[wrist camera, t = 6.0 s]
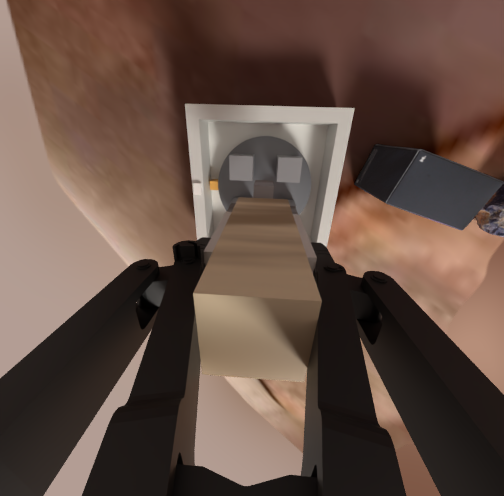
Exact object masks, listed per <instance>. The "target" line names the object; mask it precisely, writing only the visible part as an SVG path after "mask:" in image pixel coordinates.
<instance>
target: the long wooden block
mask: <svg viewBox="0 0 504 496" xmlns="http://www.w3.org/2000/svg"><path fill="white" fill-rule="evenodd" d="M273 191H274V184H273V181H267V180H255V183H254V192H253V198H244V197H239V198H238V200H237V202H236V203H231V204H230V206H229V208H228V210H227V212H231V215H230V217H229V219H228V221H227V223H226V225H225V227H224V229H223V231H222V233H221V236H220V238H219V240H218V242H217V244H216V246H215V248H214V250H213V252H212V254H211V257H210V259H209V261H208V263H207V265H206V267H205V269H204V271H203V273H202V275H201V278H200V280H199V282H198V284H197V286H196V288H195V290H194V292H193V297H194V306H195V315H196V324H197V332H198V341H199V350H200V359H201V367H202V374H205V375H217V376H229V377H242V378H255V379H268V380H281V381H294V382H304V381H305V377H306V372H307V367H308V363H309V358H310V354H311V349H312V344H313V340H314V335H315V331H316V326H317V321H318V317H319V312H320V308H321V303H322V300H321V297H320V294H319V291H318V288H317V285H316V282H315V279H314V276H313V273H312V270H311V267H310V264H309V261H308V258H307V255H306V252H305V249H304V246H303V243H302V240H301V237H300V234H299V231H298V228H297V225H296V222H295V220H294V217H293V215H298V212H297V210H296V207H295V206H290V205H289V202H288V199H273Z"/></svg>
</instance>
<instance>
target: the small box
mask: <svg viewBox="0 0 504 496" xmlns="http://www.w3.org/2000/svg"><path fill="white" fill-rule="evenodd" d="M503 184H504V181H501V180H499V179H496V178H494V177H491V176H489V175H487V174H484V173H481V172H479V171H476V170H474V169H471V168H469V167H466V166H464V165H461V164H459V163H456V162H453V161H451V160H448V159H446V158H443V157H441V156H438V155H436V154H433V153H430V152H428V151H425V150H423V149H416V148H407V147H395V146H387V145H380V144H376V145H374V147H373V149H372V152H371V154H370V155H369V157H368V159H367V161H366V163H365V165H364V166H363V168H362V170H361V172H360V173H359V175H358V177H357V179H356V182H355V185H356V186H358V187H359V188H361V189H362V190H364V191H366V192H368V193H369V194H371V195H373V196H374V197H376V198H378V199H379V200H381V201H383V202H385V203H386V204H389V205H391V206H394V207H397V208H400V209H402V210H405V211H407V212H410V213H413V214H416V215H419V216H421V217H424V218H427V219H430V220H433V221H436V222H438V223H441V224H444V225H447V226H450V227H453V228H456V229H459V230H463V229H464V228H465V227H466V226H467V225H468V224H469V223H470V222H471V221H472V219H473V218H474V217H475V216H476V215H477V214H478V212H479V211H480V210H481V209H482V208H483V207H484V205H485V204H486V203H487V202H488V201H489V200H490V199H491V197H492V196H493V195H494V194H495V193H496V191H497V190H498V189H499V188H500V187H501V186H502V185H503Z"/></svg>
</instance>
